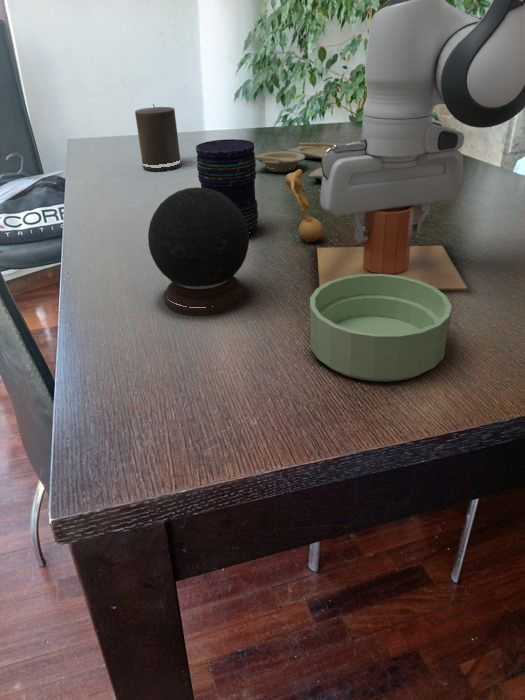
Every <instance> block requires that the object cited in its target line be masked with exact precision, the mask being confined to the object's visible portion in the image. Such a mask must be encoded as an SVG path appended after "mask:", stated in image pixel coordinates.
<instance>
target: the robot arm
mask: <svg viewBox="0 0 525 700" xmlns="http://www.w3.org/2000/svg"><path fill="white" fill-rule="evenodd" d="M365 52H366V54H365V65H364V66H365V69H364V81H365V87H366V99H365V103H364V107H363V111H362V127H361V131H362V132H361V139H360V140H361V141H356V140H353V141H354V142H353V141H349V142H335V143H336V144H333V145H332V147H331V148H329V149H328V150H327V151H326V152H325V153H324V154H323V157H322V158H321V168H322V174H323V178H322V180H321V184H320V185H321V186H320V193H319V205H320V207H321V209H323V211H324V212H325V213H327V214H328V215H330V217H339V216H347V217H348V219H349V222H350V223H351V225H352V227H353V228H354V240H355V241H356V242H357V243H363V242H365V241H369V237H368V236H369V232H370V230H369V229H367V228H366V227H364V226H363V224H362V222H361V221H362V220H363V221H364V217H365V212H370V211H377V210H385V209H392V208H399V207H406V206H414V209H415V210H414V216H413V226H412V235H419V234H420V233H421V227H422V223H423V222H424V220H425V219H426V218H427V215H428V214H429V213H430V211H431V204H435V203H442V202H443V203H444V202H449V201H454V200H456V198H457V197H458V195H459V194H460V192H461V189H462V185H463V175H464V156H463V154H462V152H461V151H460V149H461V148H462V147H463V146H464V142H465V134H464V133H463V132H461V131H460V130H456V129H454V128H452V127H448V126H446V125H442V124H440V123H439V122H436V121H435V122H434V121H432V120H433V112H434V108H435V106H438V105H445V107H446V109H447V111H448V112H449V114H451V116H452V117H453V118H454V119H455V120H457V121H458V122H459V123H461V124H463V125H466V126H468V127H472V128H477V129H478V128H479V129H485V128H492V127H496V126H499V125H501V124H504V123H506V122H508V121H510V120H512V119H513V118H515V117H516V116H517V115H518V114H519V113H521V112H522V111H523V110H524V109H525V0H491V1H490V3H489V6H488V8H487V10H486V12H485V13H484V14H483V16H482V17H481V19H480V18H477V17H475V16H472V15H470V14H468V13H466V12H464V11H462V10H460V9H459V8H457V7H455V6H453V5H452V4H451V3H449V2H447V1H446V0H387V1H385V2H383V4H381V5H380V6H379V7H378V8H377V10H376V11H375V12H374V13H373V16H372V18H371V21H370V25H369V31H368V37H367V45H366V51H365ZM330 151H333V152H331V153H329V152H330Z"/></svg>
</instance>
